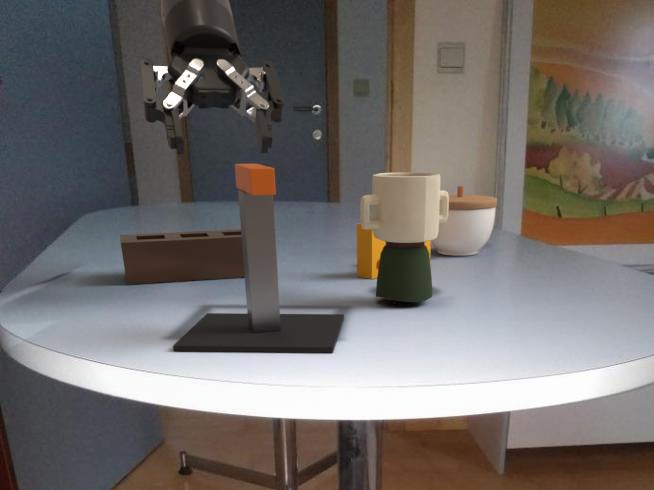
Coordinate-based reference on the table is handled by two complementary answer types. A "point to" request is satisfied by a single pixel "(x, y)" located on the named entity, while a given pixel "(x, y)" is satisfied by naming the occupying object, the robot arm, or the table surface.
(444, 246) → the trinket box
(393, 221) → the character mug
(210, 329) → the mat
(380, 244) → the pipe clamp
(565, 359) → the table surface
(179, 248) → the organizer
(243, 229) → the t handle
